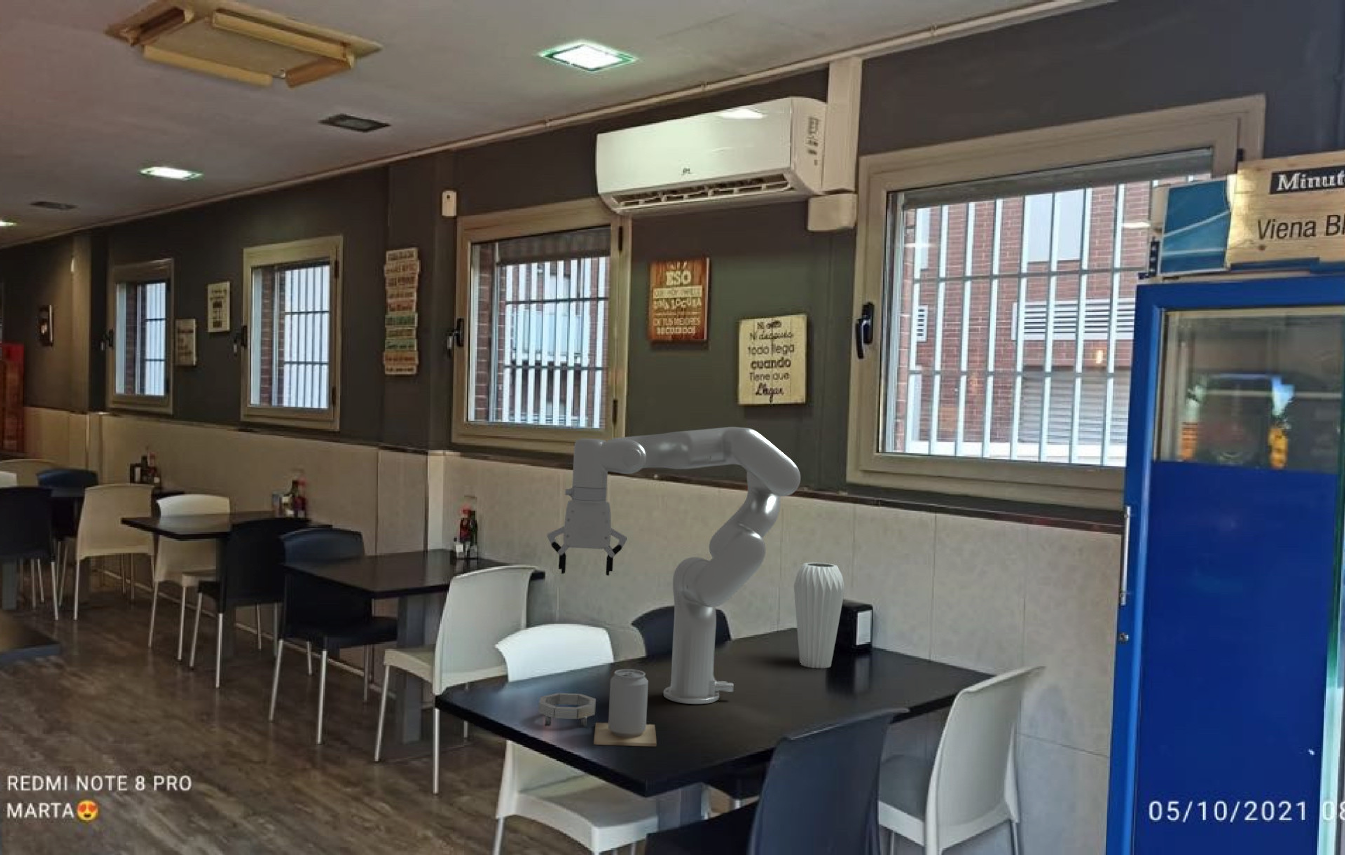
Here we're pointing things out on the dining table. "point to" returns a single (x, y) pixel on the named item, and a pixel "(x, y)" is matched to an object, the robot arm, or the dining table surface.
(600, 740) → the cork pad
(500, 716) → the dining table surface
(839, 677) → the dining table surface
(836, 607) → the vase
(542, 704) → the ring stand
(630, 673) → the can
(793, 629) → the dining table surface
